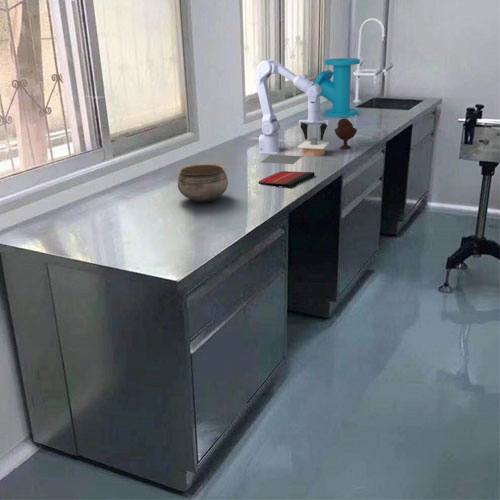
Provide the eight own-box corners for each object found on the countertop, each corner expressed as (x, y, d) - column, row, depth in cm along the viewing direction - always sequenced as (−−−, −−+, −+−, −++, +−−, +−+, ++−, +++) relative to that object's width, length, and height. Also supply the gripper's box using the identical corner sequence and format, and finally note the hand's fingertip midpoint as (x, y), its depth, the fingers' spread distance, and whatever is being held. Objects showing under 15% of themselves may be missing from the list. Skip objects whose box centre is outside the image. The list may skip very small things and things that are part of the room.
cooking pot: (215, 212, 207) (213, 178, 203) (167, 208, 213) (164, 176, 208) (238, 192, 229) (236, 161, 224) (194, 189, 235) (191, 159, 230)
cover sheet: (297, 147, 278) (297, 140, 277) (304, 142, 290) (304, 135, 288) (323, 148, 274) (323, 141, 273) (330, 143, 285) (330, 135, 284)
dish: (300, 156, 281) (300, 147, 279) (306, 151, 290) (306, 142, 288) (321, 157, 277) (321, 148, 276) (326, 152, 286) (326, 143, 285)
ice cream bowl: (356, 150, 288) (357, 119, 283) (333, 150, 291) (333, 120, 285) (356, 145, 298) (357, 116, 292) (334, 145, 300) (335, 116, 295)
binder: (314, 171, 246) (289, 184, 230) (314, 177, 247) (290, 190, 231) (282, 169, 255) (256, 181, 239) (282, 174, 256) (256, 186, 240)
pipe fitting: (350, 118, 374) (352, 61, 360) (305, 115, 389) (305, 60, 376) (363, 112, 391) (364, 58, 378) (319, 110, 407) (319, 58, 393)
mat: (260, 163, 271) (260, 162, 271) (270, 155, 285) (270, 154, 285) (293, 165, 266) (293, 164, 266) (302, 157, 280) (302, 156, 280)
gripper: (296, 111, 275) (297, 140, 280) (327, 112, 270) (326, 141, 275) (300, 109, 281) (300, 137, 286) (330, 110, 276) (330, 138, 281)
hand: (313, 139), depth 281 cm, fingers open, 7 cm apart
